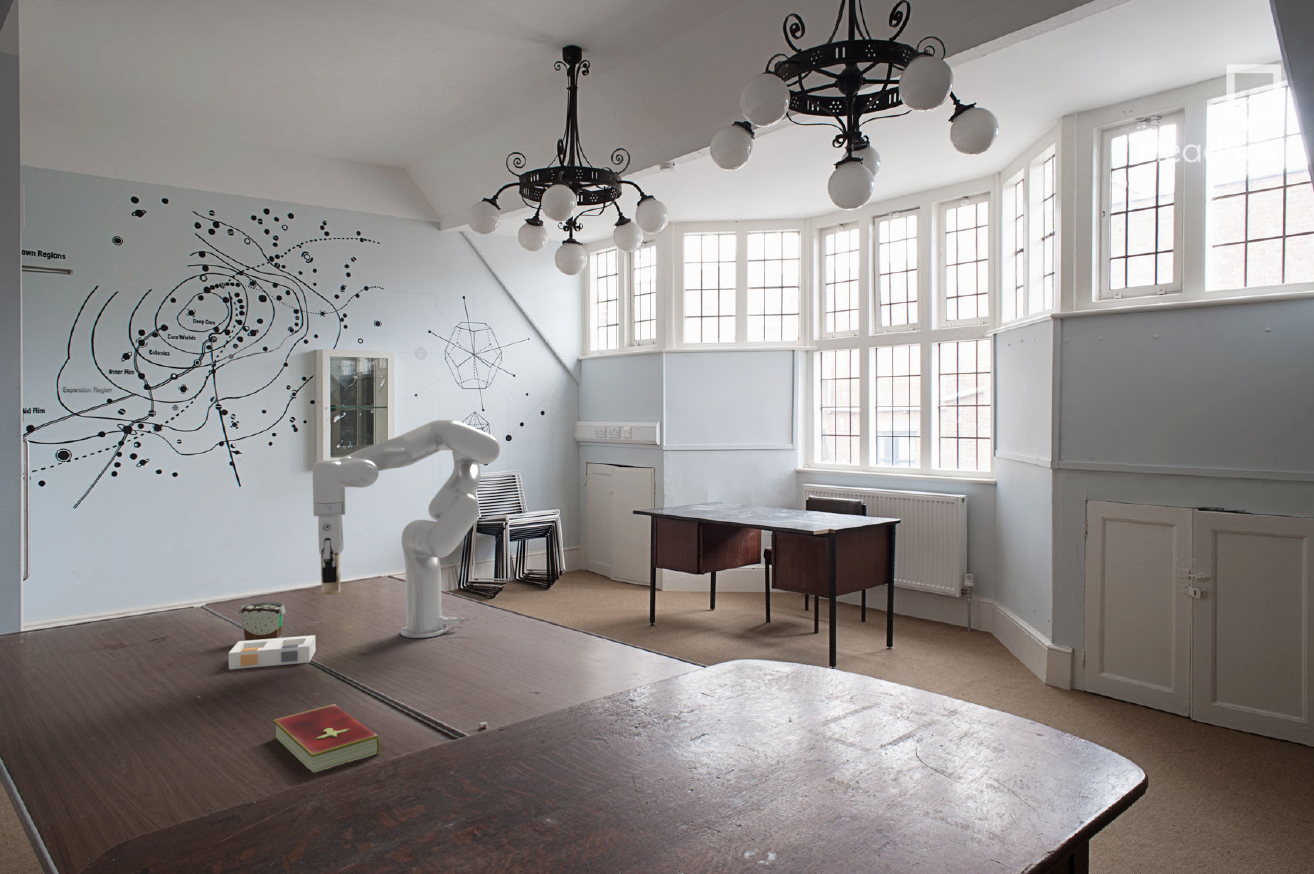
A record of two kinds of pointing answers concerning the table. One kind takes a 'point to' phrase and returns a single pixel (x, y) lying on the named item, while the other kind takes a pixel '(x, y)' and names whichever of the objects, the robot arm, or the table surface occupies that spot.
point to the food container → (262, 620)
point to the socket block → (272, 652)
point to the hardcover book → (326, 737)
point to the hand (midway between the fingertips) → (330, 579)
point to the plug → (331, 587)
